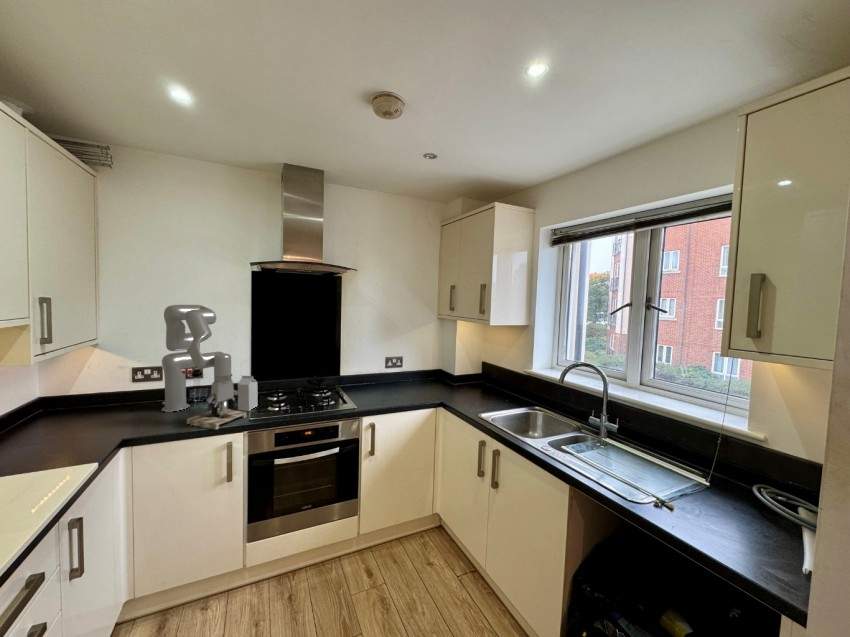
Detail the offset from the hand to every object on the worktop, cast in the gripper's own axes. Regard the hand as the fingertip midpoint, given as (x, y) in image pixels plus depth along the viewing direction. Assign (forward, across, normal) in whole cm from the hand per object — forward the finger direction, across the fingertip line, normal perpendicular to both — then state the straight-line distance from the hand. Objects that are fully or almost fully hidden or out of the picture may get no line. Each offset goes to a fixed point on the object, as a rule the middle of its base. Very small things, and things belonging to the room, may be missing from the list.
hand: (223, 411), depth 172 cm
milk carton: (+6, -20, -4) cm, 21 cm away
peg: (+5, 0, 0) cm, 5 cm away
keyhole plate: (+5, 0, -4) cm, 7 cm away
